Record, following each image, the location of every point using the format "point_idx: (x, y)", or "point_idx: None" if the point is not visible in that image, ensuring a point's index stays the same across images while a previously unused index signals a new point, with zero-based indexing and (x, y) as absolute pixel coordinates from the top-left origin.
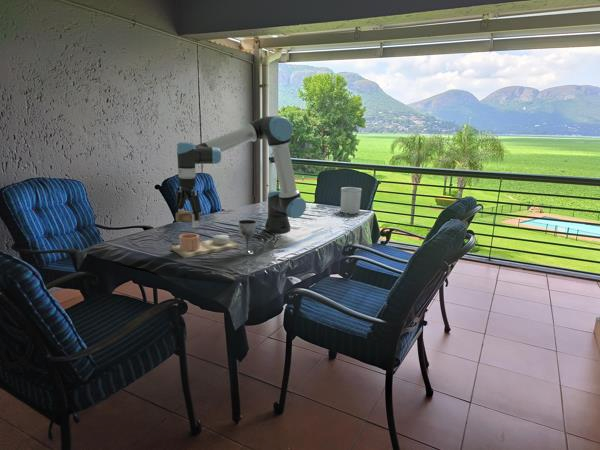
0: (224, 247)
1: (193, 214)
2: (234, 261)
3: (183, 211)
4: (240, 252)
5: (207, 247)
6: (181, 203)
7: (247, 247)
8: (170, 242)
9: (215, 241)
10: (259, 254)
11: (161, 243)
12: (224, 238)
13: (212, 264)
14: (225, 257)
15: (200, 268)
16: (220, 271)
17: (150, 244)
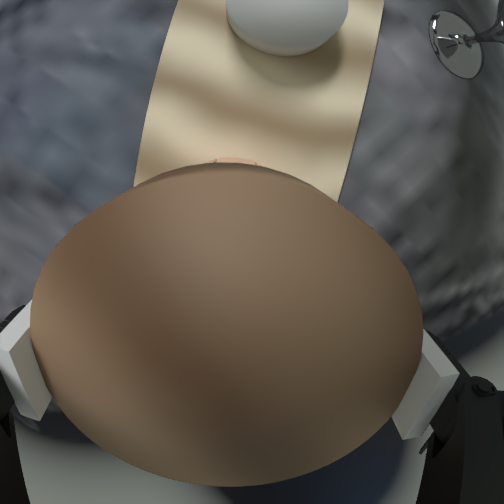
0: (371, 66)
1: (420, 424)
2: (490, 178)
3: (50, 358)
4: (446, 62)
5: (299, 131)
6: (22, 498)
7: (477, 42)
8: (25, 197)
9: (293, 51)
10: (498, 48)
11: (19, 240)
12: (338, 8)
13: (449, 261)
14: (442, 159)
15: (435, 316)
16: (494, 284)
17: (14, 282)
